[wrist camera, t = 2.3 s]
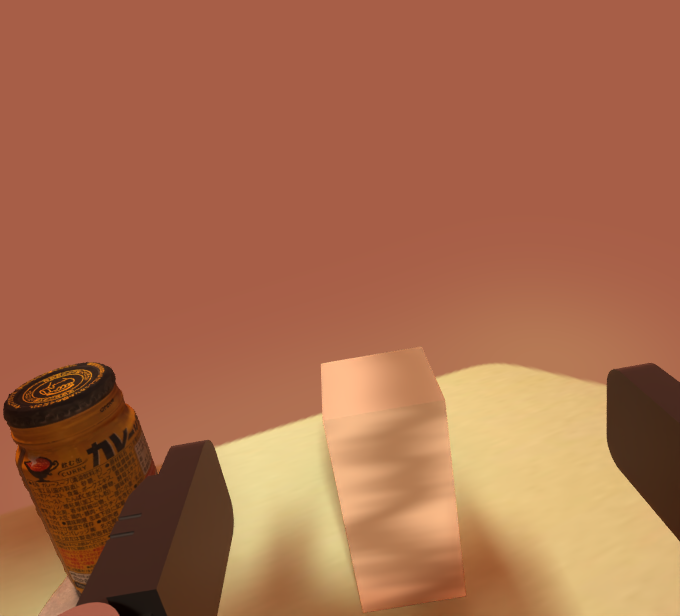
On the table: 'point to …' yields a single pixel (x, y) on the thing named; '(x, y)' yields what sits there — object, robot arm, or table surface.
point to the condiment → (77, 463)
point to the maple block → (394, 477)
